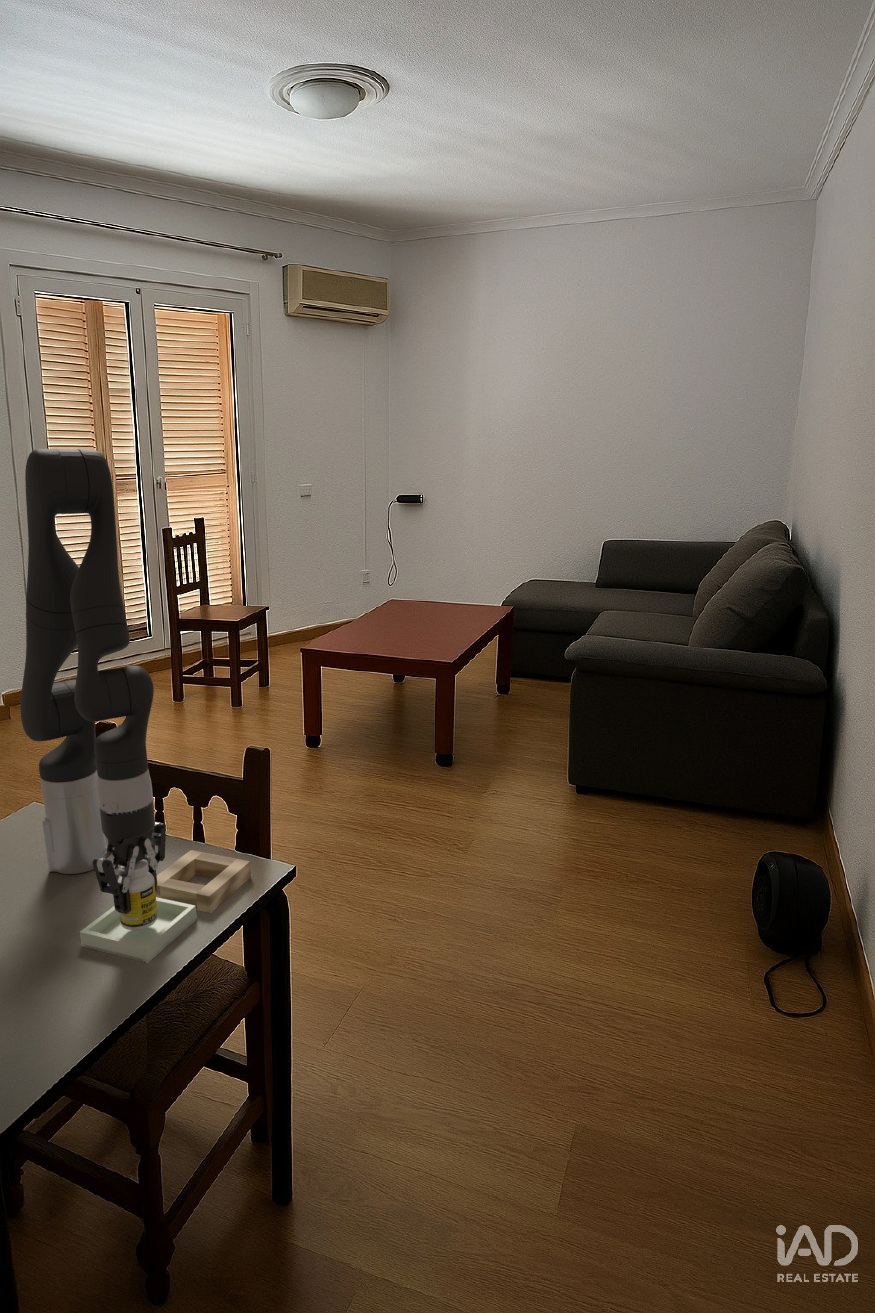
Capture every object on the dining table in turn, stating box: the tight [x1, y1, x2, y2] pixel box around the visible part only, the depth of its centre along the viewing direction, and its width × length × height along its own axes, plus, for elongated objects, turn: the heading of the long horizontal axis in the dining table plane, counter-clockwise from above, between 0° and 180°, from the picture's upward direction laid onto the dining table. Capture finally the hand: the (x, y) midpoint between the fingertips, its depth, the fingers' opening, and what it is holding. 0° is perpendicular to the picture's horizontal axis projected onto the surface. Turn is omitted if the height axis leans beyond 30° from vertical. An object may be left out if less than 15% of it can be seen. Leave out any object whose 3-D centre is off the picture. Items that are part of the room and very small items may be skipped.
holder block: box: [155, 849, 252, 914], centre depth 147 cm, size 12×12×3 cm
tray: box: [79, 897, 198, 964], centre depth 134 cm, size 12×12×2 cm
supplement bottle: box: [118, 859, 157, 930], centre depth 133 cm, size 5×5×10 cm
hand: (137, 901), depth 133 cm, fingers closed on supplement bottle, 5 cm apart
